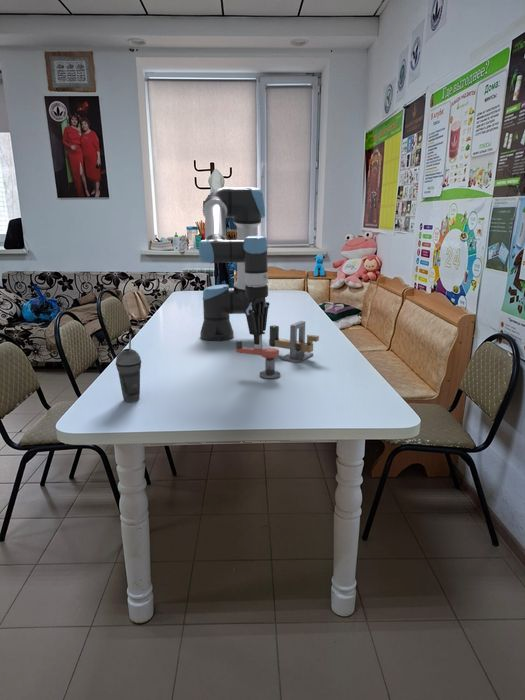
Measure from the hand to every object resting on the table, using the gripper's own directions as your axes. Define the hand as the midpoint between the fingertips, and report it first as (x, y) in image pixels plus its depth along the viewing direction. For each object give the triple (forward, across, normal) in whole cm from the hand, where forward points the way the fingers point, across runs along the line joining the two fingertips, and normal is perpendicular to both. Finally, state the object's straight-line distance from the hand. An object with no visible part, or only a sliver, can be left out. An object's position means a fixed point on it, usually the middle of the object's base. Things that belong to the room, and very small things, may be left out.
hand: (258, 352), depth 155 cm
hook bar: (+6, +23, -2) cm, 24 cm away
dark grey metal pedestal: (+7, -1, -5) cm, 9 cm away
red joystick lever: (0, -1, 0) cm, 2 cm away
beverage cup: (+5, -40, +20) cm, 45 cm away
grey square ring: (+9, +23, -4) cm, 25 cm away
